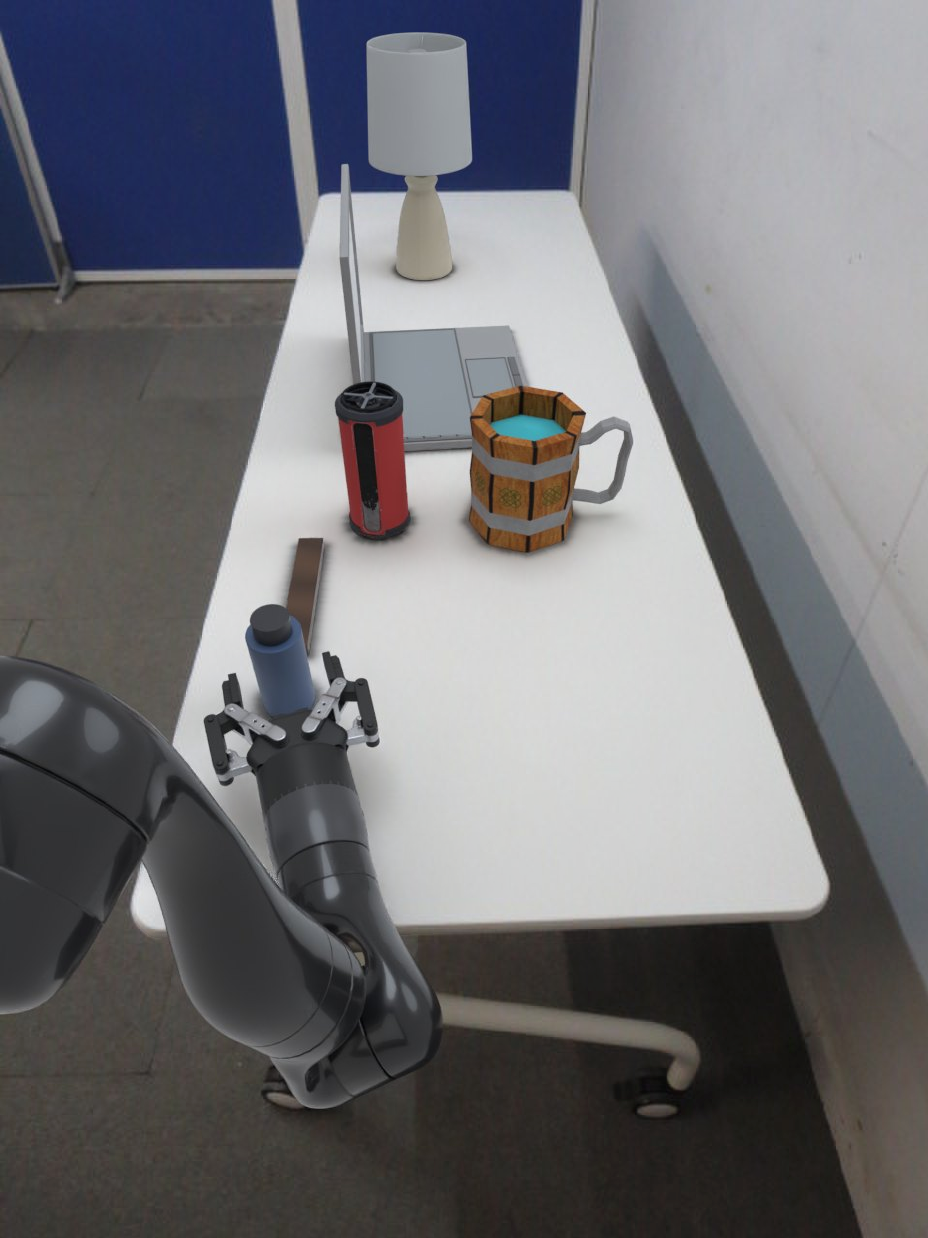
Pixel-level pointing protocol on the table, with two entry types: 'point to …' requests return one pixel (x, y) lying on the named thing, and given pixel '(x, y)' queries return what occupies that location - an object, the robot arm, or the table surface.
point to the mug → (532, 466)
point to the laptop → (425, 359)
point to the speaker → (374, 458)
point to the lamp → (419, 136)
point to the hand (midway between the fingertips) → (280, 668)
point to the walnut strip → (306, 585)
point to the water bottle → (279, 660)
